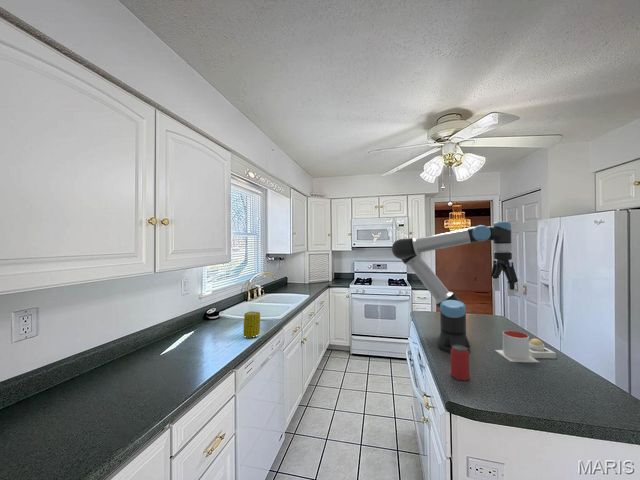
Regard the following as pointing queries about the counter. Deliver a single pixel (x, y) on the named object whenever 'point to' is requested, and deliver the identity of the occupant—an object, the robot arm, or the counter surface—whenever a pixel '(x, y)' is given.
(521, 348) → the cup
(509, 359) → the pad
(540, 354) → the dome base
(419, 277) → the robot arm
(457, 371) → the beer can
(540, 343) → the dome
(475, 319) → the counter surface
